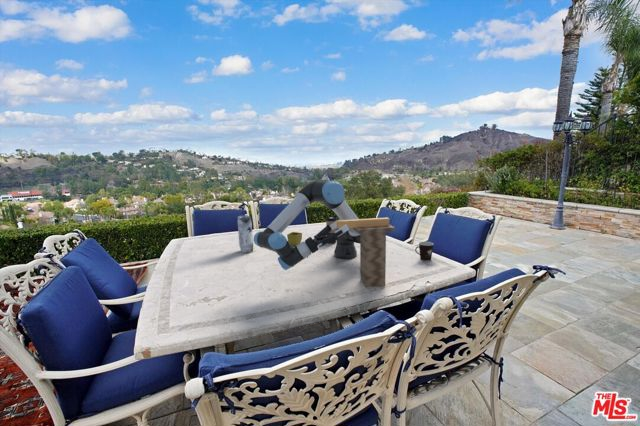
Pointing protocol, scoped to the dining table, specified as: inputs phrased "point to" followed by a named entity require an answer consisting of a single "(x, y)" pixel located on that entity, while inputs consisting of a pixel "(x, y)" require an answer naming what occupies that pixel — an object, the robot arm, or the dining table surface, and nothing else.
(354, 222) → the brown block
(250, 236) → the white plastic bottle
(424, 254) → the coffee mug
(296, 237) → the flower pot
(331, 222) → the travel mug
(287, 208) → the robot arm
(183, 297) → the dining table surface
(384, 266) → the walnut stand
